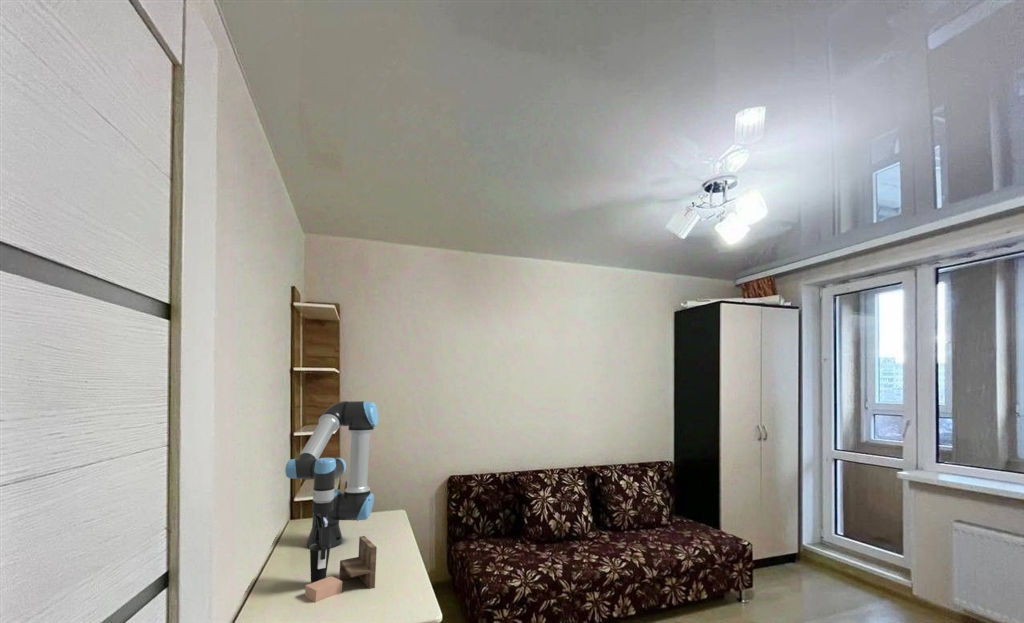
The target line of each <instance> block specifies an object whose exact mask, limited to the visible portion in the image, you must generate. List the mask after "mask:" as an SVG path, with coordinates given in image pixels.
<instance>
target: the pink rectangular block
mask: <svg viewBox="0 0 1024 623" xmlns="http://www.w3.org/2000/svg"><path fill="white" fill-rule="evenodd" d="M342 589H343V580H340V579H339V578H337V577H334V576H332V575H331V576H329V577H328V576H326V578H325V579H322V580H319V581H316V582H313V583H311V582H310V583H309V584H306V585H305V589H304V590H305V593H304V596H305V598H307V599H308V600H311V601H313V602H315V603H318V602H321V601H323V600H325V599H328V598H331V597H333V596H335V595H338V594H341V593H342V592H343V590H342Z"/></svg>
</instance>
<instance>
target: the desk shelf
mask: <svg viewBox="0 0 1024 623" xmlns="http://www.w3.org/2000/svg"><path fill="white" fill-rule="evenodd" d="M358 538H359V539H358V556H356V557H351V558H346V559H340V561H339V574H338V575H339V576H338V579H339V580H341V581H343V580H348V579H352V578H353V579H354V578H358V577H359V578H360V579H361V580H362V582H363V583H364V584H365V586H366V587H367V588H368V589H373V588H374V589H375V588H376V572H377V570H376V566H377V550H378V549H377V546H376V545H375V544H374V543H373V542H371V540H370V539H369V538H367V536H365V535H362V536H359V537H358Z"/></svg>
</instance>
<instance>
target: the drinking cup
mask: <svg viewBox="0 0 1024 623" xmlns="http://www.w3.org/2000/svg"><path fill="white" fill-rule="evenodd" d="M330 547H331V544H330V543H329V549H327V554H326V568H322V569H317V568H318V552H319V551H318V550H317V549H319V548H320V542H317V543H315V544H313V545H311V546H310V547H309V548H308V549H309V558H310V559H309V562H310V584H311V583H313V582H316V581H319V580H322V579H325V578H327V572H328V564H329V558H330V551H331V548H330Z"/></svg>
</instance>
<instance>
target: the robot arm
mask: <svg viewBox="0 0 1024 623" xmlns="http://www.w3.org/2000/svg"><path fill="white" fill-rule="evenodd" d="M378 424H379V411H378V406H377V405H376V403H375V402H373V401H366V400H365V401H364V400H363V401H360V400H359V401H354V400H353V401H352V400H351V401H349V400H344V401H339V402H336V403H334V404H333V405H330V407H328V408H326V410H325V411H324V412H322V414H321V415H320V416H319V418H318V424H317V426H316V428H315V429H314V430H313V433H312V434H311V436H309V437H310V438H309V439H308V440H307V442H306V444H305V445H304V447H303V449H302V450H301V452H300V453H299V456H298V457H297V458H293V459H292V458H291V459H290V460H288V461H287V463H286V466H285V468H284V469H285V476H286V477H287V478H288V479H296V480H312V479H313V489H312V490H313V492H312V493H311V496H312V501H313V502H312V504H311V512H312V525H311V529H310V532H309V535H308V538H307V540H306V547H307V548H308V549H309V547H310V546H311V545H313V544H315V543H317V542H320V548H319V549H317V550H318V551H319V552H318V568H317V569H322V568H326V554H327V549H329V543H330V544H331V547H330V549H331V548H335V547H338V546H339V545H341V544H342V543H343V535H342V532H341V528H340V521H357V522H358V521H365V520H366V521H367V519H369V518H370V516H371V513H372V511H373V508H374V507H373V506H374V502H375V494H374V493H372V492H371V488H370V486H369V485H368V481H369V480H368V478H369V461H370V460H369V459H370V442H371V433H372V432H374V430H375V427H376V426H378ZM340 427H348V432H349V433H350V434H351V436H350V454H349V467H348V468H349V469H348V470H349V471H348V484H347V487H346V488H345V489H344V491H343V492H344V493H342V491H341V489H339V488H335V481H336V479H338V478H340V477H341V476H343V474H344V473H345V472H346V470H347V464H346V461H345V460H344V459H343V458H341V457H321V455H322V454H323V452H324V449H325V448H326V446H327V445H328V442H329V441H330V439H331V437H332V435H333V434H334V432H335V431H336V430H338V429H339V428H340ZM320 457H321V458H320Z"/></svg>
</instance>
